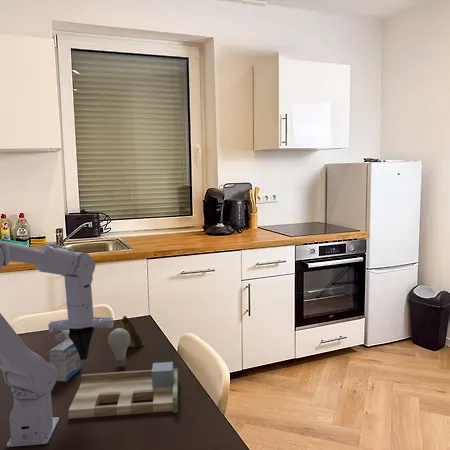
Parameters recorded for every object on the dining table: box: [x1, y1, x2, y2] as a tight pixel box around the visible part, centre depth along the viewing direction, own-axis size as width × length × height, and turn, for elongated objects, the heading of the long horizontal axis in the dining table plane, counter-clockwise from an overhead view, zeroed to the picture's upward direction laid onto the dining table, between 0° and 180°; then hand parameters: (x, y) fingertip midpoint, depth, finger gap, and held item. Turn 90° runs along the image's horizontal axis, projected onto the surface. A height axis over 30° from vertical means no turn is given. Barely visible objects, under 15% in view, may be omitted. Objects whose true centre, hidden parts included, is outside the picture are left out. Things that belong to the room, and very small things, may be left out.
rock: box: [113, 315, 145, 348], centre depth 146 cm, size 11×9×10 cm
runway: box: [68, 367, 179, 420], centre depth 109 cm, size 16×24×4 cm, turn 95°
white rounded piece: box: [54, 330, 70, 344], centre depth 145 cm, size 10×5×15 cm
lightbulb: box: [107, 328, 130, 368], centre depth 127 cm, size 6×6×11 cm
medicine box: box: [48, 339, 82, 383], centre depth 123 cm, size 8×4×9 cm, turn 168°
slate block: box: [151, 361, 174, 387], centre depth 113 cm, size 5×5×4 cm
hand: (84, 358), depth 109 cm, fingers closed
